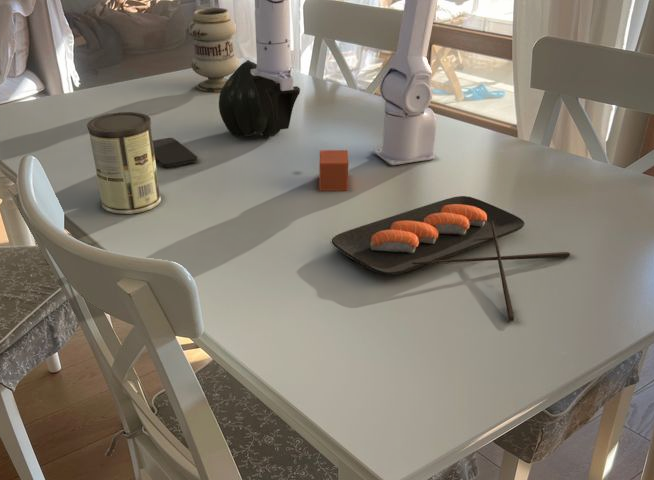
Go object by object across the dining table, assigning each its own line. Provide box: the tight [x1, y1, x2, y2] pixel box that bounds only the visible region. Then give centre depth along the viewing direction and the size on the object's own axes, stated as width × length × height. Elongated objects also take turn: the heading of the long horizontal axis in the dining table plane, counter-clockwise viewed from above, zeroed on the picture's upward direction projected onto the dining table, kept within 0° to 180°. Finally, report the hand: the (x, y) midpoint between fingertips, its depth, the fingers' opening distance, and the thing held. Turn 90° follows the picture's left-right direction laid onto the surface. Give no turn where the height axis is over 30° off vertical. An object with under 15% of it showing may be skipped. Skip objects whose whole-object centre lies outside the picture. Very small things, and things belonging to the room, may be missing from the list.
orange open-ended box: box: [318, 149, 349, 192], centre depth 127 cm, size 6×5×5 cm
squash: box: [218, 59, 281, 138], centre depth 149 cm, size 14×15×15 cm
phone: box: [153, 137, 198, 168], centre depth 142 cm, size 7×1×15 cm
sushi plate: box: [331, 195, 571, 322], centre depth 102 cm, size 29×30×4 cm
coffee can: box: [86, 111, 162, 215], centre depth 120 cm, size 10×10×14 cm
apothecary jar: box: [188, 7, 240, 93], centre depth 178 cm, size 12×12×18 cm
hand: (275, 122), depth 126 cm, fingers open, 7 cm apart
